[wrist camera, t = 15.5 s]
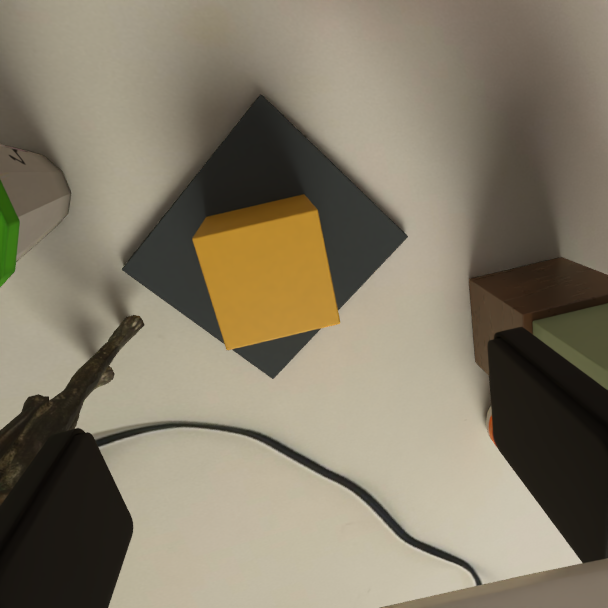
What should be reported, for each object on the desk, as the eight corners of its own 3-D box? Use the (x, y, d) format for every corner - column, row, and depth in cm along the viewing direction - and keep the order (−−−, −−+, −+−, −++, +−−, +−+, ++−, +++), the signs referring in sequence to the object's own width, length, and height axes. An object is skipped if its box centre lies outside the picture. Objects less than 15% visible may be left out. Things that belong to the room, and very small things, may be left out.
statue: (183, 337, 29) (55, 689, 11) (120, 398, 30) (-97, 814, 12) (125, 290, 28) (-143, 601, 9) (61, 355, 29) (-296, 754, 10)
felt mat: (260, 95, 25) (260, 94, 24) (405, 234, 28) (408, 236, 28) (123, 267, 27) (121, 270, 27) (272, 375, 31) (273, 379, 30)
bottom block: (561, 256, 30) (639, 286, 24) (561, 341, 32) (632, 388, 26) (468, 278, 30) (522, 314, 24) (475, 362, 32) (525, 414, 26)
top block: (304, 193, 26) (317, 208, 21) (324, 287, 28) (340, 324, 23) (205, 216, 26) (191, 238, 20) (232, 309, 28) (226, 351, 23)
